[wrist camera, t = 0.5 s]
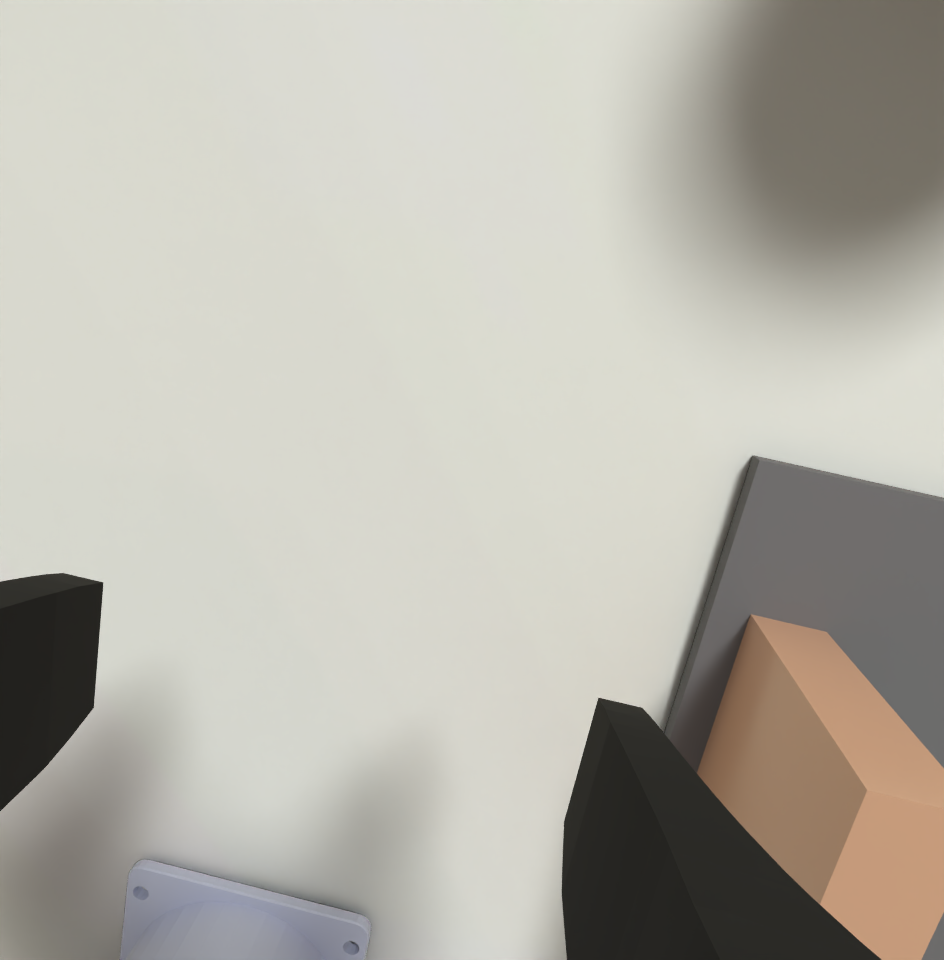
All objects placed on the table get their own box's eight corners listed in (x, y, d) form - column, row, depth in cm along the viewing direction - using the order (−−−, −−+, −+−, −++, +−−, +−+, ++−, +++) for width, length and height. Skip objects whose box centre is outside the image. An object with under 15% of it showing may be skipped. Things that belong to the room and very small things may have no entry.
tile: (740, 879, 21) (834, 1159, 14) (667, 861, 21) (725, 1130, 14) (832, 633, 19) (996, 821, 12) (750, 614, 19) (867, 789, 12)
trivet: (1081, 1066, 22) (1095, 1087, 21) (597, 942, 22) (598, 958, 22) (1354, 590, 18) (1382, 599, 17) (753, 455, 18) (759, 460, 18)
